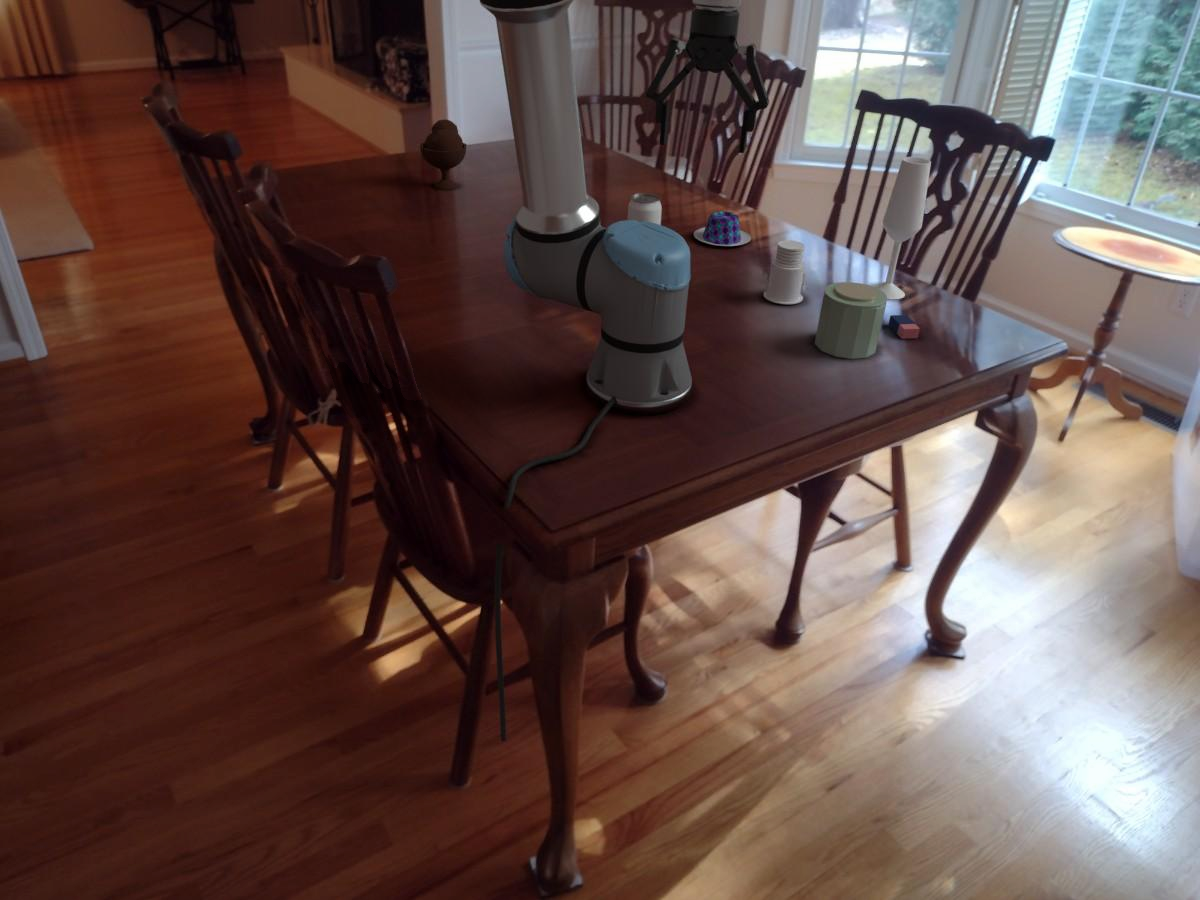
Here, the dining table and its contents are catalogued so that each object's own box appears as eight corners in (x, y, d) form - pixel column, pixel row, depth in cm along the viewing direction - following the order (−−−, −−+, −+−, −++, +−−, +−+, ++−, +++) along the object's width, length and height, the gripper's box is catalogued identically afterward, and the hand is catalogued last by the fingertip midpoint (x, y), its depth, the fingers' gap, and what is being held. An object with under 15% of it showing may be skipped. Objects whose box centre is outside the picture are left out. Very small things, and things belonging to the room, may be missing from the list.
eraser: (917, 338, 145) (920, 327, 144) (901, 338, 144) (904, 328, 143) (903, 324, 149) (906, 314, 148) (887, 324, 149) (890, 314, 148)
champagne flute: (860, 287, 163) (888, 156, 150) (890, 283, 165) (920, 154, 152) (882, 301, 157) (913, 166, 144) (912, 297, 160) (945, 164, 146)
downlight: (770, 307, 153) (779, 253, 148) (754, 292, 159) (761, 239, 154) (811, 304, 155) (821, 250, 150) (794, 289, 161) (802, 236, 155)
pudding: (723, 226, 190) (725, 202, 187) (762, 242, 182) (765, 218, 179) (681, 236, 183) (683, 211, 181) (720, 253, 175) (723, 228, 173)
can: (655, 265, 169) (659, 204, 162) (622, 262, 170) (625, 201, 163) (660, 254, 174) (664, 194, 167) (628, 250, 175) (631, 191, 168)
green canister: (874, 362, 136) (887, 306, 131) (812, 353, 139) (822, 297, 133) (876, 337, 144) (888, 284, 139) (817, 329, 146) (827, 275, 141)
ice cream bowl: (417, 182, 210) (412, 117, 202) (461, 178, 214) (458, 114, 206) (429, 194, 202) (424, 127, 194) (475, 190, 206) (472, 124, 198)
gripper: (798, 11, 137) (777, 149, 148) (643, 0, 142) (635, 135, 153) (794, 15, 131) (773, 160, 142) (633, 4, 136) (625, 144, 147)
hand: (702, 147), depth 148 cm, fingers open, 13 cm apart
